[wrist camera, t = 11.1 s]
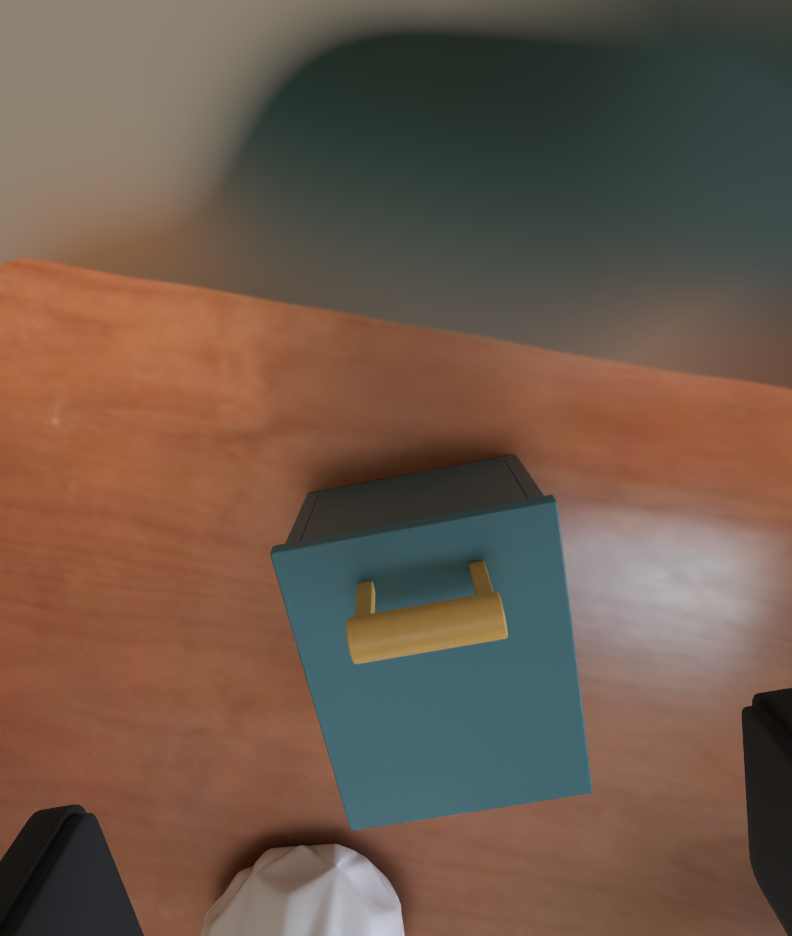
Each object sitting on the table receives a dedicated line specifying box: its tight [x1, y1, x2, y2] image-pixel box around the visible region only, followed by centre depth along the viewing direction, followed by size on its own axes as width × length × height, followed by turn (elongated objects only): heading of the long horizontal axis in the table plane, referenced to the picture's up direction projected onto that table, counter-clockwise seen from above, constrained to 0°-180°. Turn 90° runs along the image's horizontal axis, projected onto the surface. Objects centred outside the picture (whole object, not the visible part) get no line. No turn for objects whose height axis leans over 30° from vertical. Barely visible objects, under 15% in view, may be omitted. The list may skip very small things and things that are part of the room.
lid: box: [270, 495, 592, 831], centre depth 29 cm, size 16×13×6 cm
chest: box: [285, 455, 544, 544], centre depth 37 cm, size 16×13×9 cm
